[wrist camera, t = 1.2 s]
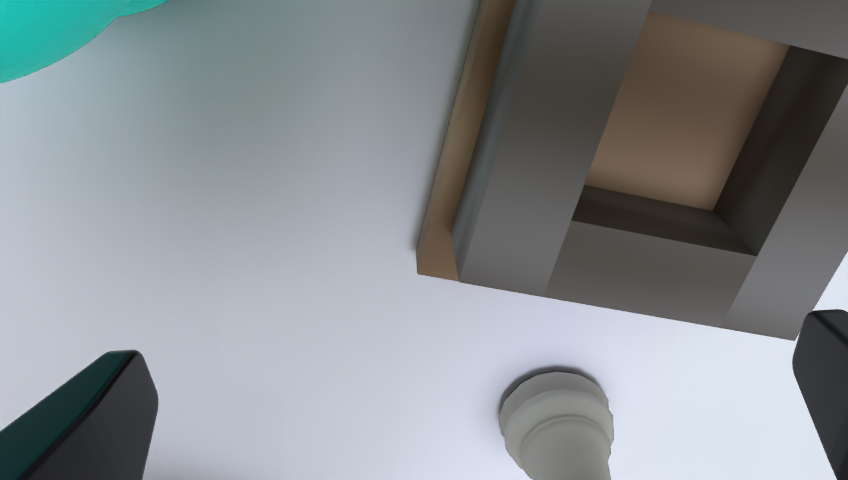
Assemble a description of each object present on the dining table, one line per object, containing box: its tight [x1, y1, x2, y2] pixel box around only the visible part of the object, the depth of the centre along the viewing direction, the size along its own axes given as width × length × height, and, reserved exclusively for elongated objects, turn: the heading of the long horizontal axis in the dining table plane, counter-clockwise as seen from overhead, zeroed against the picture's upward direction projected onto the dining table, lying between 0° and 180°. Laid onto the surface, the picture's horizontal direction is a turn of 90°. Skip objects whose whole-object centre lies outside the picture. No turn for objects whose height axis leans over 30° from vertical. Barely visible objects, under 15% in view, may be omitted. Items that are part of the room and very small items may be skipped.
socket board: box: [416, 0, 848, 341], centre depth 19 cm, size 14×12×4 cm
